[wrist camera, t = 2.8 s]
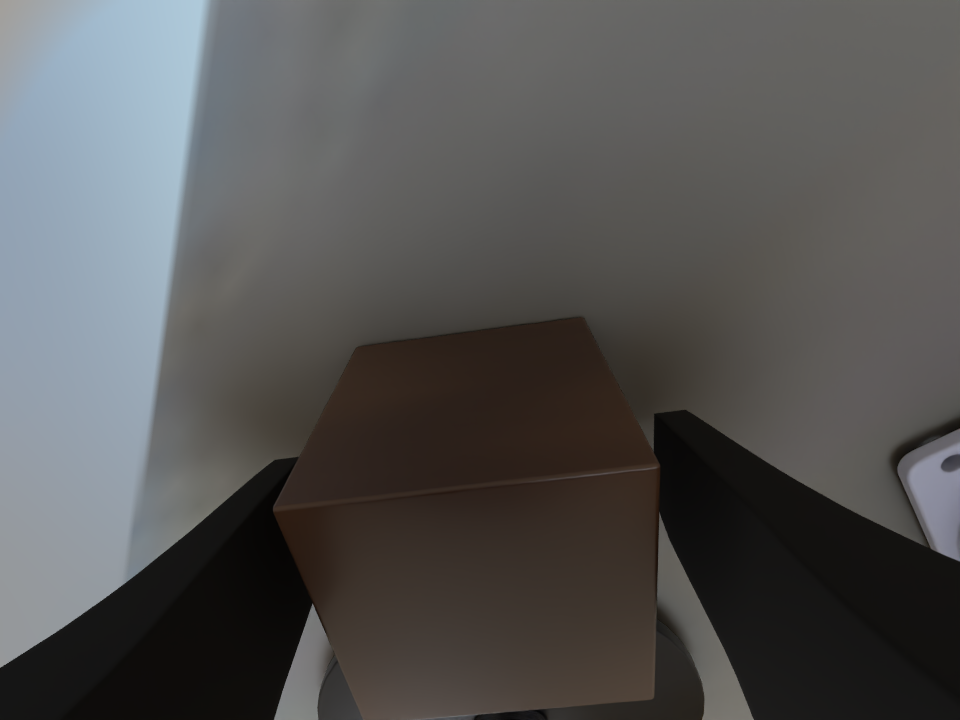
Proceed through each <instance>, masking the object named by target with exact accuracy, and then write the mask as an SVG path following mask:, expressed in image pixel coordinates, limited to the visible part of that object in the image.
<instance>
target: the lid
mask: <svg viewBox="0 0 960 720" xmlns="http://www.w3.org/2000/svg"><path fill="white" fill-rule="evenodd" d="M317 708H318V719H319V720H363V718H362V716H361V713H360V711H359V709H358V706H357V704H356V702H355V699H354V697H353V695H352V693H351V690H350V688H349V686H348V683H347V681H346V679H345V676H344V674H343V672H342V670H341V667H340V665H339V663H338V660H337V658H336V656H335V655H334V657H333V659H332V660H331V662H330V663H329V665H328V668H327V670H326V673H325V676H324V679H323V682H322V685H321V689H320V693H319V700H318V707H317ZM703 714H704V692H703V687H702V682H701V679H700V677H699V674H698V672H697V669H696V667H695V664H694V662H693V660H692V657H691V655H690V653H689V652H688V651H687V649H686V648H685V646H684V645H683V644H682V642H681V641H680V639H679V638H678V637H677V636H676V635H674V634H673V633H672V632H671V631H670V630H669V629H668V628H667V627H666V626H665V625H664V624H663V623H661V622H660V621H658V620H657V619H656V652H655V691H654V698H653V699H651V700H641V701H629V702H618V703H606V704H595V705H583V706H571V707H560V708H548V709H536V710H525V711H513V712H502V713H490V714H478V715H467V716H455V717H443V718H432V719H420V720H702V717H703Z"/></svg>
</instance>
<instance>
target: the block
mask: <svg viewBox="0 0 960 720" xmlns="http://www.w3.org/2000/svg"><path fill="white" fill-rule="evenodd" d="M659 500H660V464H659V462H658V460H657V458H656V456H655V454H654V452H653V450H652V448H651V446H650V445H649V443H648V441H647V439H646V437H645V435H644V433H643V431H642V429H641V427H640V425H639V423H638V421H637V420H636V418H635V416H634V414H633V412H632V410H631V408H630V406H629V404H628V402H627V400H626V398H625V396H624V395H623V393H622V391H621V389H620V387H619V385H618V383H617V381H616V379H615V377H614V375H613V373H612V371H611V370H610V368H609V366H608V364H607V362H606V360H605V358H604V356H603V354H602V352H601V350H600V348H599V346H598V345H597V343H596V341H595V339H594V337H593V335H592V333H591V331H590V329H589V327H588V325H587V323H586V321H585V320H584V318H582V317H580V318H573V319H565V320H558V321H550V322H543V323H535V324H528V325H520V326H512V327H505V328H497V329H490V330H482V331H475V332H467V333H460V334H452V335H444V336H437V337H429V338H422V339H414V340H407V341H399V342H392V343H384V344H377V345H369V346H361V347H357V348H356V349H355V351H354V353H353V355H352V357H351V358H350V360H349V362H348V364H347V366H346V368H345V370H344V372H343V374H342V376H341V378H340V380H339V381H338V383H337V385H336V387H335V389H334V391H333V393H332V395H331V397H330V399H329V401H328V403H327V405H326V406H325V408H324V410H323V412H322V414H321V416H320V418H319V420H318V422H317V424H316V426H315V428H314V429H313V431H312V433H311V435H310V437H309V439H308V441H307V443H306V445H305V447H304V449H303V451H302V452H301V454H300V456H299V458H298V460H297V462H296V464H295V466H294V468H293V470H292V472H291V474H290V476H289V477H288V479H287V481H286V483H285V485H284V487H283V489H282V491H281V493H280V495H279V497H278V499H277V500H276V502H275V504H274V506H273V513H274V515H275V518H276V520H277V522H278V524H279V527H280V529H281V531H282V534H283V536H284V538H285V541H286V543H287V545H288V547H289V550H290V552H291V554H292V557H293V559H294V561H295V564H296V566H297V568H298V570H299V573H300V575H301V577H302V580H303V582H304V584H305V587H306V589H307V591H308V594H309V596H310V598H311V600H312V603H313V605H314V607H315V610H316V612H317V614H318V617H319V619H320V621H321V623H322V626H323V628H324V630H325V633H326V635H327V637H328V640H329V642H330V644H331V646H332V649H333V651H334V653H335V656H336V658H337V660H338V663H339V665H340V667H341V670H342V672H343V674H344V676H345V679H346V681H347V683H348V686H349V688H350V690H351V693H352V695H353V697H354V699H355V702H356V704H357V706H358V709H359V711H360V713H361V716H362V718H363V720H420V719H432V718H443V717H455V716H467V715H478V714H490V713H502V712H513V711H525V710H536V709H548V708H560V707H571V706H583V705H595V704H606V703H618V702H629V701H641V700H651V699H653V698H654V691H655V652H656V614H657V576H658V538H659Z"/></svg>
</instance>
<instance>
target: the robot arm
mask: <svg viewBox="0 0 960 720" xmlns="http://www.w3.org/2000/svg"><path fill="white" fill-rule="evenodd" d="M654 454H655V456H656V458H657V460H658V462H659V464H660V500H659V512H660V515H661V518H662V521H663V523H664V526H665V529H666V531H667V534H668V537H669V539H670V541H671V544H672V546H673V548H674V550H675V552H676V554H677V556H678V558H679V560H680V562H681V564H682V566H683V568H684V570H685V572H686V574H687V576H688V578H689V580H690V582H691V584H692V586H693V588H694V590H695V592H696V594H697V596H698V598H699V600H700V602H701V604H702V606H703V608H704V610H705V612H706V614H707V616H708V618H709V620H710V622H711V624H712V626H713V628H714V630H715V632H716V634H717V636H718V637H719V639H720V641H721V643H722V645H723V647H724V649H725V652H726V654H727V656H728V658H729V660H730V663H731V665H732V667H733V669H734V671H735V674H736V676H737V678H738V681H739V683H740V686H741V688H742V691H743V693H744V696H745V698H746V701H747V704H748V706H749V709H750V711H751V714H752V716H753V719H754V720H960V429H958V430H956V431H953V432H951V433H949V434H947V435H945V436H943V437H940V438H938V439H936V440H934V441H932V442H930V443H928V444H925V445H923V446H921V447H919V448H917V449H915V450H912V451H911V452H909V453H908V454H906V455H905V456H904V457H903V458H902V459H901V460H900V462H899V465H898V467H897V470H898V475H899V477H900V479H901V482H902V484H903V486H904V489H905V491H906V493H907V495H908V498H909V500H910V502H911V504H912V507H913V509H914V511H915V513H916V516H917V518H918V520H919V522H920V525H921V527H922V529H923V532H924V534H925V536H926V538H927V541H928V543H929V545H930V547H931V549H930V548H928V547H925V546H923V545H921V544H919V543H916V542H914V541H912V540H910V539H908V538H906V537H904V536H902V535H900V534H898V533H896V532H893V531H891V530H889V529H887V528H885V527H883V526H881V525H879V524H877V523H875V522H873V521H871V520H869V519H867V518H865V517H863V516H861V515H859V514H857V513H855V512H853V511H851V510H849V509H847V508H845V507H843V506H841V505H840V504H838V503H836V502H834V501H832V500H830V499H829V498H827V497H825V496H823V495H822V494H820V493H818V492H816V491H814V490H813V489H811V488H809V487H807V486H806V485H804V484H802V483H800V482H799V481H797V480H795V479H793V478H792V477H790V476H788V475H787V474H785V473H783V472H782V471H780V470H778V469H777V468H775V467H774V466H772V465H770V464H769V463H767V462H765V461H764V460H762V459H761V458H759V457H758V456H756V455H754V454H753V453H751V452H750V451H748V450H747V449H745V448H743V447H742V446H740V445H739V444H737V443H736V442H734V441H733V440H731V439H730V438H728V437H727V436H725V435H724V434H722V433H721V432H719V431H718V430H716V429H715V428H713V427H712V426H710V425H709V424H707V423H706V422H704V421H703V420H701V419H699V418H698V417H696V416H695V415H693V414H692V413H690V412H688V411H687V410H681V411H672V412H664V413H656V414H654ZM298 458H299V457H295V458H286V459H278V460H274V461H273V462H272V463H270V464H269V465H268V466H266V467H265V468H264V469H262V470H261V471H260V472H259V473H258V474H256V475H255V476H254V477H253V478H252V479H250V480H249V481H248V482H247V483H246V484H245V485H243V486H242V487H241V488H240V489H239V490H238V491H236V492H235V493H234V494H233V495H232V496H231V497H230V498H228V499H227V500H226V501H225V502H224V503H223V504H221V505H220V506H219V507H218V508H217V509H216V510H214V511H213V512H212V513H211V514H210V515H209V516H207V517H206V518H205V519H204V520H203V521H202V522H200V523H199V524H198V525H197V526H196V527H195V528H194V529H192V530H191V531H190V532H189V533H188V534H186V535H185V536H184V537H183V538H181V539H180V540H179V541H178V542H176V543H175V544H174V545H173V546H172V547H170V548H169V549H168V550H167V551H165V552H164V553H163V554H162V555H160V556H159V557H158V558H157V559H155V560H154V561H153V562H152V563H150V564H149V565H148V566H147V567H145V568H144V569H143V570H142V571H141V572H139V573H138V574H137V575H135V576H134V577H133V578H132V579H130V580H129V581H128V582H126V583H125V584H124V585H122V586H121V587H120V588H118V589H117V590H116V591H114V592H113V593H111V594H110V595H109V596H107V597H106V598H105V599H103V600H102V601H100V602H99V603H98V604H96V605H95V606H93V607H92V608H91V609H89V610H88V611H87V612H85V613H83V614H82V615H81V616H79V617H78V618H76V619H75V620H74V621H72V622H71V623H69V624H68V625H66V626H65V627H64V628H62V629H60V630H59V631H57V632H56V633H55V634H53V635H51V636H50V637H48V638H47V639H45V640H43V641H42V642H40V643H39V644H37V645H36V646H34V647H32V648H31V649H29V650H28V651H26V652H25V653H23V654H21V655H20V656H18V657H17V658H15V659H14V660H12V661H11V662H9V663H7V664H6V665H4V666H3V667H1V668H0V720H274V717H275V714H276V711H277V707H278V704H279V701H280V697H281V694H282V691H283V688H284V685H285V682H286V679H287V676H288V673H289V670H290V667H291V665H292V662H293V659H294V656H295V653H296V650H297V647H298V644H299V641H300V638H301V635H302V633H303V630H304V627H305V624H306V621H307V618H308V615H309V612H310V609H311V606H312V600H311V598H310V596H309V594H308V591H307V589H306V587H305V584H304V582H303V580H302V577H301V575H300V573H299V570H298V568H297V566H296V564H295V561H294V559H293V557H292V554H291V552H290V550H289V547H288V545H287V543H286V541H285V538H284V536H283V534H282V531H281V529H280V527H279V524H278V522H277V520H276V518H275V515H274V513H273V506H274V504H275V502H276V500H277V499H278V497H279V495H280V493H281V491H282V489H283V487H284V485H285V483H286V481H287V479H288V477H289V476H290V474H291V472H292V470H293V468H294V466H295V464H296V462H297V460H298Z"/></svg>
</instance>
